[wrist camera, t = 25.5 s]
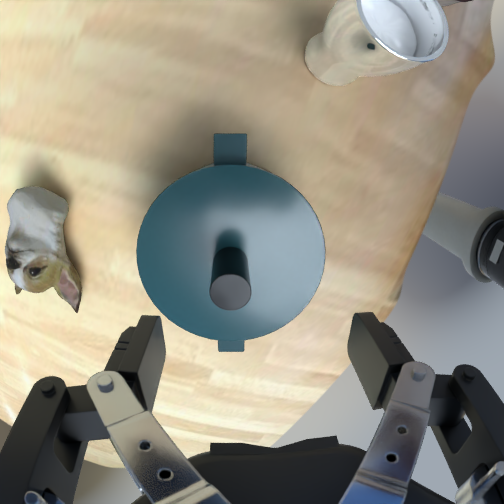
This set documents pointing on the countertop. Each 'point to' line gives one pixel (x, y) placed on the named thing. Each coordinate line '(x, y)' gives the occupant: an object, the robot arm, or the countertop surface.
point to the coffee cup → (450, 2)
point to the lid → (230, 252)
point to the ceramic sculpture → (40, 245)
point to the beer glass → (376, 39)
